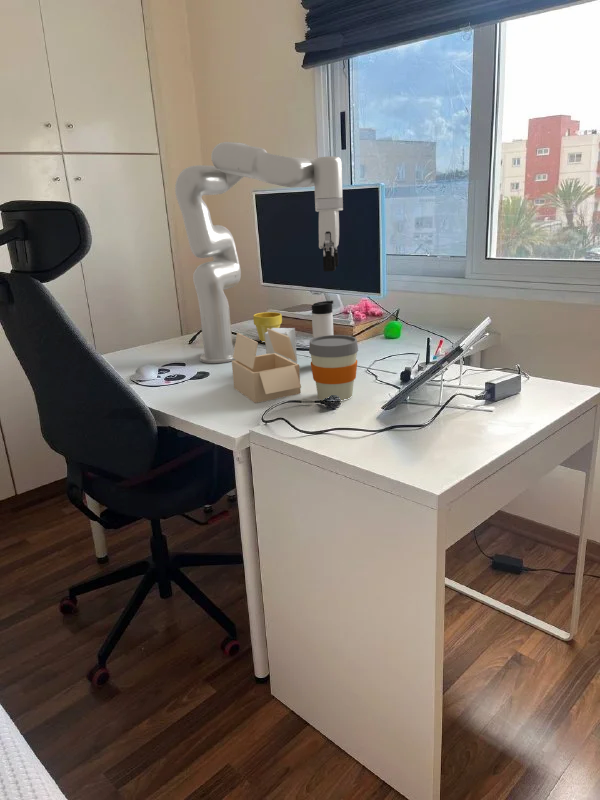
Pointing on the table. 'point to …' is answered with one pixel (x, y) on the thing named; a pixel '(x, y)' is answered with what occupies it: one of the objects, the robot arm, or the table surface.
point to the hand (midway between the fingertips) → (331, 268)
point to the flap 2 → (281, 344)
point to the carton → (267, 378)
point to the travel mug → (322, 319)
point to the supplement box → (285, 331)
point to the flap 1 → (245, 350)
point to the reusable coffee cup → (334, 365)
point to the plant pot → (266, 322)
